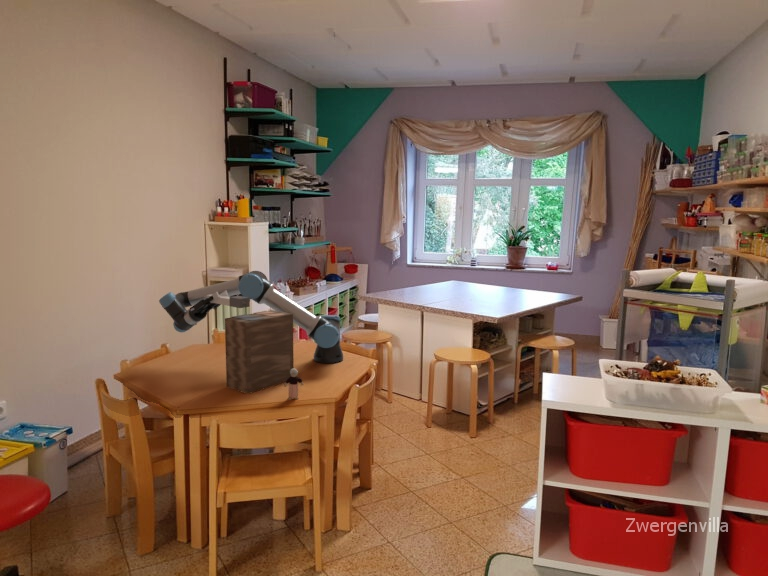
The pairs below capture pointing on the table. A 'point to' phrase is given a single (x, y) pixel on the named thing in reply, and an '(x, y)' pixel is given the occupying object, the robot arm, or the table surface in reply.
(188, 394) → the table surface
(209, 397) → the table surface
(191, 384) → the table surface
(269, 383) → the walnut shelf
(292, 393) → the grandmother figurine
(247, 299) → the bar
